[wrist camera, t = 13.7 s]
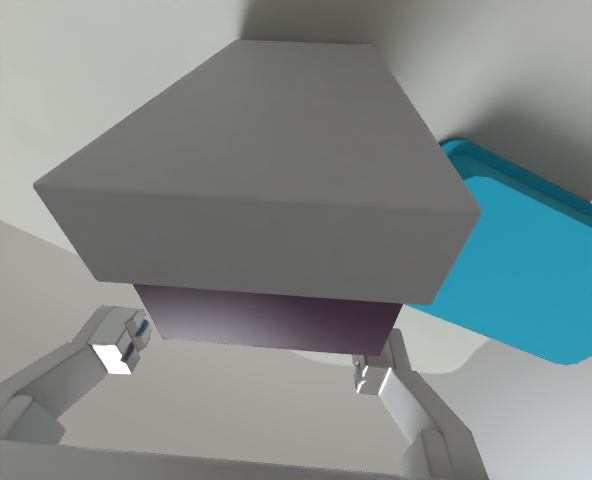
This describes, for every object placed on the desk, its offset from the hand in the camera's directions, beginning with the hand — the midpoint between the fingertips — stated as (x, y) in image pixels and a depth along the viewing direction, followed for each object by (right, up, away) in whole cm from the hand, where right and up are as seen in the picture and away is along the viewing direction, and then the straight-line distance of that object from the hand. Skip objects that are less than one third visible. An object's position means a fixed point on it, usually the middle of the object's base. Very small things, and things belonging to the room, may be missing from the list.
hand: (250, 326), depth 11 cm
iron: (+2, +9, -2) cm, 9 cm away
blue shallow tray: (+17, 0, +8) cm, 19 cm away
